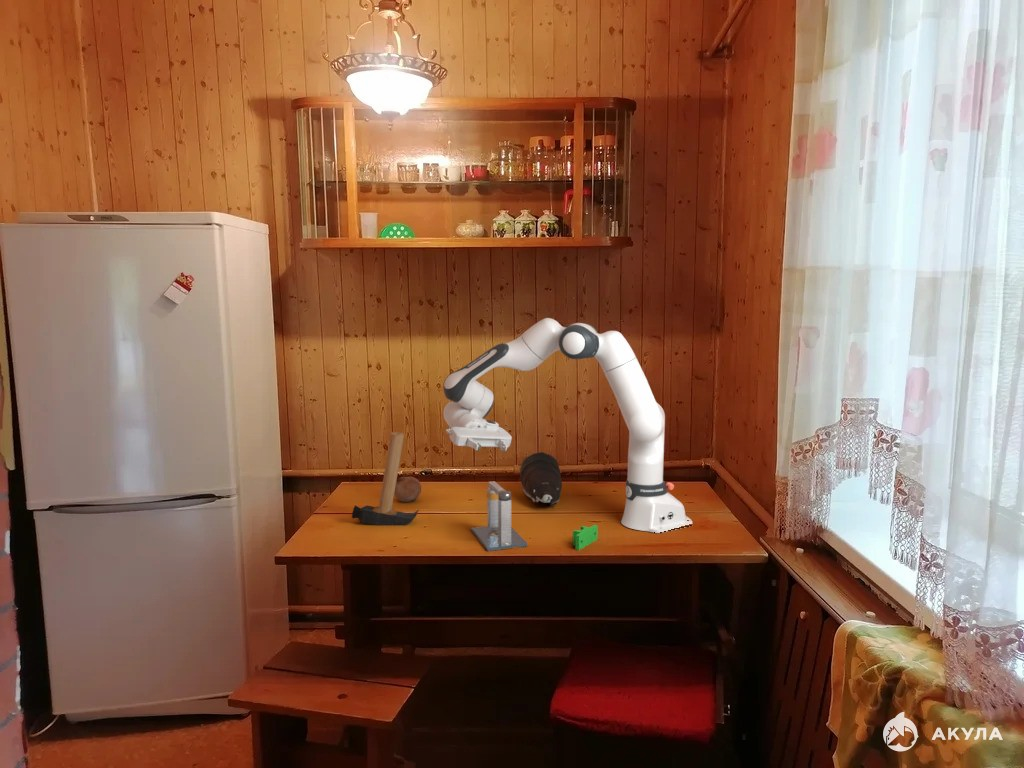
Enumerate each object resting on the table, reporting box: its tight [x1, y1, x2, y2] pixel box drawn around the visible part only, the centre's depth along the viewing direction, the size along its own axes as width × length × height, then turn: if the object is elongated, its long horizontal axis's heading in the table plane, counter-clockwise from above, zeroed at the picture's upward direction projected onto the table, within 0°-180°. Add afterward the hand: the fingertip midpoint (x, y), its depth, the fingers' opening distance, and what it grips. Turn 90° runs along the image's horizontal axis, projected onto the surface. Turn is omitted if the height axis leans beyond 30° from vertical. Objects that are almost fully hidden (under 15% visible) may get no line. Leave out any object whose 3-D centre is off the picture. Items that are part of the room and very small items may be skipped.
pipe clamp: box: [572, 524, 599, 551], centre depth 207 cm, size 11×4×5 cm, turn 145°
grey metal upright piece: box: [487, 481, 512, 544], centre depth 210 cm, size 4×15×15 cm, turn 19°
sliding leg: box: [486, 487, 499, 530], centre depth 215 cm, size 3×3×13 cm
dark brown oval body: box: [519, 451, 563, 507], centre depth 247 cm, size 15×15×25 cm
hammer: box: [351, 431, 419, 527], centre depth 223 cm, size 20×5×30 cm, turn 89°
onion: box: [394, 476, 422, 503], centre depth 248 cm, size 10×9×10 cm
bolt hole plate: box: [470, 525, 529, 552], centre depth 211 cm, size 12×18×1 cm, turn 19°
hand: (492, 448), depth 216 cm, fingers open, 8 cm apart
